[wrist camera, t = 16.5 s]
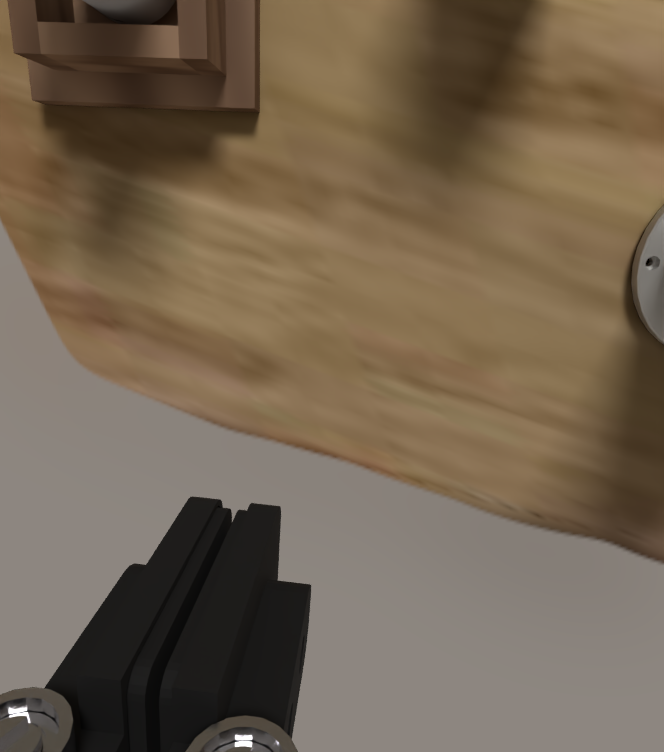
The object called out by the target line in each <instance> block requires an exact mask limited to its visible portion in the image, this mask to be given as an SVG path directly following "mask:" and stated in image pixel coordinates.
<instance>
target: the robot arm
mask: <svg viewBox="0 0 664 752" xmlns="http://www.w3.org/2000/svg"><path fill="white" fill-rule="evenodd" d="M648 258H649V260H650V262H649V264H648V265H646V261H647V259H648ZM631 286H632V293H633V301H634V304H635V307H636V309H637V312H638V315H639V317H640V319H641V321H642V322H643V324H644V325H645V327H646V328H647V330H648V331H649V332H650V333H651V334H652V335H653V336H654V337H655V338H656V339H657V340H658V341H659V342H660V343H662V344H663V345H664V205H663V206H662V207H661V208H660V209H659V211H658V212H657V213H656V215H655V216H654V218H653V219H652V220H651V222H650V223H649V225H648V226H647V228H646V230H645V232H644V234H643V236H642V238H641V240H640V242H639V245H638V247H637V250H636V254H635V258H634V262H633V266H632V280H631ZM280 521H281V508H280V506H272V505H263V504H254V503H251V504H250V505H249V507H248V510H247V511H245V510H238V512H237V513H236V515H235V518H234V520H233V522H232V513H231V509H228V508H223V507H222V501H221V500H218V499H210V498H200V497H190V498H189V499H188V501H187V502H186V504H185V505H184V507H183V508H182V510H181V512H180V513H179V515H178V516H177V518H176V519H175V521H174V522H173V524H172V526H171V527H170V529H169V530H168V532H167V533H166V535H165V536H164V538H163V540H162V541H161V543H160V544H159V546H158V547H157V549H156V550H155V552H154V554H153V555H152V557H151V558H150V560H149V562H148V563H147V564H146V565H142V564H132V565H130V566H129V567H128V568H127V569H126V571H125V572H124V573H123V575H122V576H121V577H120V579H119V580H118V582H117V584H116V585H115V586H114V588H113V589H112V591H111V592H110V593H109V595H108V596H107V598H106V599H105V601H104V602H103V604H102V605H101V606H100V608H99V610H98V611H97V612H96V614H95V615H94V617H93V618H92V620H91V621H90V622H89V624H88V626H87V627H86V628H85V630H84V631H83V633H82V634H81V636H80V637H79V639H78V640H77V641H76V643H75V644H74V646H73V647H72V649H71V650H70V652H69V653H68V654H67V656H66V657H65V659H64V660H63V662H62V663H61V665H60V666H59V667H58V669H57V670H56V672H55V673H54V675H53V676H52V678H51V679H50V681H49V682H48V684H47V685H46V687H45V688H37V687H30V688H23V689H15V690H12V691H9V692H6V693H3V694H1V695H0V752H298V751H297V749H296V747H295V745H294V743H293V741H292V733H293V727H294V721H295V715H296V709H297V703H298V697H299V690H300V684H301V678H302V672H303V665H304V658H305V651H306V643H307V634H308V623H309V612H310V598H311V585H309V584H301V583H293V582H284V581H277V579H278V561H279V541H280Z"/></svg>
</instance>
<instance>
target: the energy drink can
mask: <svg viewBox="0 0 664 752" xmlns="http://www.w3.org/2000/svg"><path fill="white" fill-rule="evenodd" d="M83 1H84V2H86V3H87V4H89V5H90V6H92V7H93V8H95V9H96V10H97V11H99V12H100V13H102V14H103V15H105V16H106V17H108V18H109V19H111V20H112V21H114V22H117V23H119V24H134V25H149V24H152V23H154V22H155V21H157V20H159V19H161V18H162V17H163V16H164V15H165V14H166V13H167V12H168V11H169V10H170V8H171V7H172V6H173V4H174V3H175V1H176V0H83Z"/></svg>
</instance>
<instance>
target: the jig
mask: <svg viewBox="0 0 664 752" xmlns="http://www.w3.org/2000/svg"><path fill="white" fill-rule="evenodd" d="M8 8H9V16H10V24H11V33H12V41H13V49H14V53H15V54H18V55H20V56H22V57H25V58H27V60H28V69H29V77H30V86H31V94H32V100H33V101H36V102H40V103H43V104H49V105H75V106H102V107H129V108H156V109H182V110H209V111H236V112H260V0H176V1H175V3H174V4H173V6H172V7H171V8H170V10H169V11H168V12H167V13H166V14H165V15H164V16H163V17H162V18H161V19H159V20H157V21H155V22H154V23H152V24H149V25H134V24H119V23H117V22H114V21H112V20H111V19H109V18H108V17H106V16H105V15H103V14H102V13H100V12H99V11H97V10H96V9H95V8H93V7H92V6H90V5H89V4H87V3H86V2H84V1H83V0H8Z"/></svg>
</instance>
